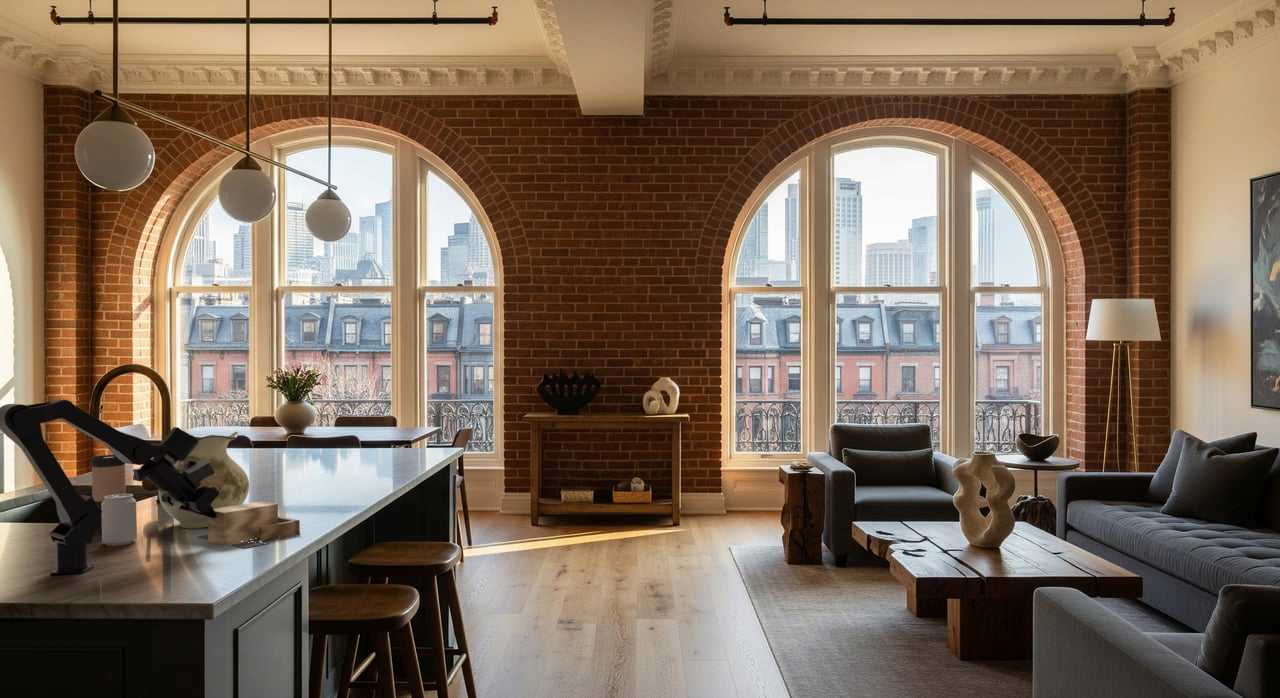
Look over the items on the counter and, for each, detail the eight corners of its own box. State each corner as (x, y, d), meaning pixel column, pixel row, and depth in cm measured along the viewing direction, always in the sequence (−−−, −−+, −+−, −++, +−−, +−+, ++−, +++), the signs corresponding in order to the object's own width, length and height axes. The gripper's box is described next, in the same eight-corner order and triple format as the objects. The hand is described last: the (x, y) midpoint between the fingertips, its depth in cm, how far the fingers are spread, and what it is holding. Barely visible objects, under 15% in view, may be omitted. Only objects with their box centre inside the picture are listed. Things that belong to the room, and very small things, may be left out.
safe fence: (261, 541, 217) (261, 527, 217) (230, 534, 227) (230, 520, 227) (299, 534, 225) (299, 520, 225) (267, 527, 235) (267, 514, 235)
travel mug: (88, 535, 229) (87, 458, 229) (98, 529, 236) (96, 455, 236) (121, 533, 231) (120, 457, 231) (130, 527, 238) (128, 453, 238)
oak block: (224, 545, 214) (224, 512, 214) (208, 541, 219) (207, 509, 219) (278, 535, 225) (277, 504, 225) (261, 531, 230) (261, 501, 230)
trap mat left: (209, 540, 220) (209, 539, 220) (197, 537, 224) (197, 536, 224) (232, 535, 225) (232, 534, 225) (221, 532, 229) (221, 532, 229)
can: (121, 547, 214) (119, 498, 214) (94, 546, 216) (93, 497, 215) (144, 540, 221) (143, 492, 221) (118, 539, 223) (117, 492, 223)
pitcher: (248, 527, 235) (245, 433, 235) (148, 536, 226) (145, 439, 226) (251, 513, 256) (249, 428, 256) (160, 522, 247) (157, 433, 247)
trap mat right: (244, 548, 210) (244, 547, 210) (231, 545, 213) (231, 544, 213) (268, 543, 214) (268, 542, 214) (255, 540, 218) (255, 540, 218)
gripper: (210, 453, 206) (256, 493, 215) (173, 448, 217) (218, 487, 226) (176, 491, 200) (225, 531, 208) (140, 484, 211) (188, 522, 220)
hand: (214, 516), depth 216 cm, fingers closed, pressing on oak block
